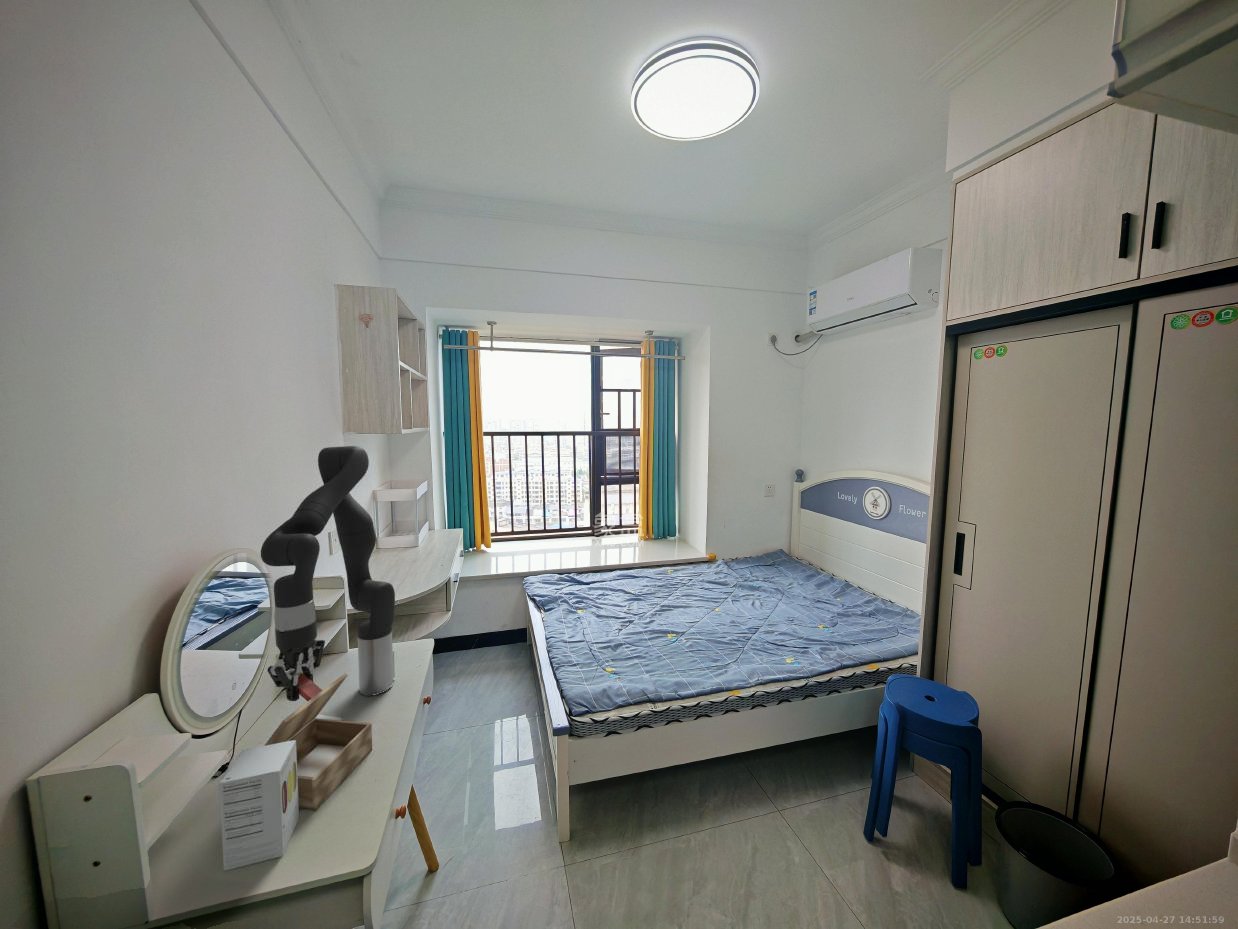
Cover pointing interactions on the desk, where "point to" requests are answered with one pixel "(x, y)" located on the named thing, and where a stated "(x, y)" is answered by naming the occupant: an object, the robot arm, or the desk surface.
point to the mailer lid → (305, 708)
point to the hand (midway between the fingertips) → (300, 694)
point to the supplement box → (259, 804)
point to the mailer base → (337, 764)
